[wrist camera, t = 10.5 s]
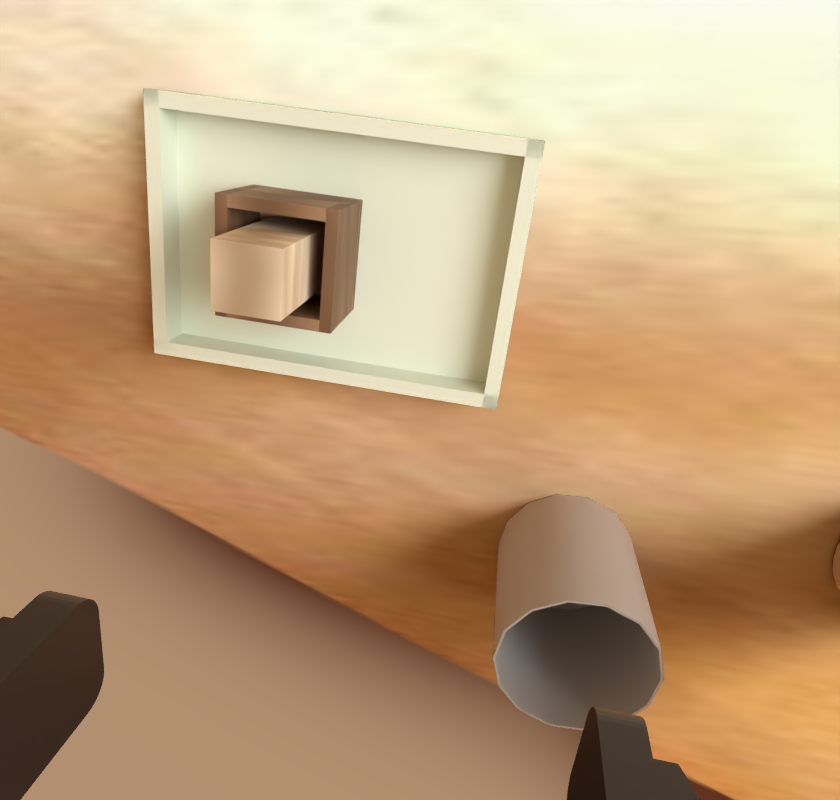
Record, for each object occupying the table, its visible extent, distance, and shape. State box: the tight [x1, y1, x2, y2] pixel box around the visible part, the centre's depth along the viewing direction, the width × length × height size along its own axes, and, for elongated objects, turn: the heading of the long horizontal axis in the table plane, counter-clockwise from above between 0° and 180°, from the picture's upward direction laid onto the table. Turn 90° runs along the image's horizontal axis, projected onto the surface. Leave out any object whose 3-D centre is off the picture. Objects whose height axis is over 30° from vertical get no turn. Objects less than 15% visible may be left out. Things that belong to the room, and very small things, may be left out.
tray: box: [143, 88, 545, 410], centre depth 36 cm, size 20×14×2 cm
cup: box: [493, 494, 664, 730], centre depth 38 cm, size 8×8×10 cm
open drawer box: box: [215, 184, 363, 334], centre depth 34 cm, size 6×6×5 cm
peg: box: [210, 216, 325, 322], centre depth 32 cm, size 3×3×8 cm
